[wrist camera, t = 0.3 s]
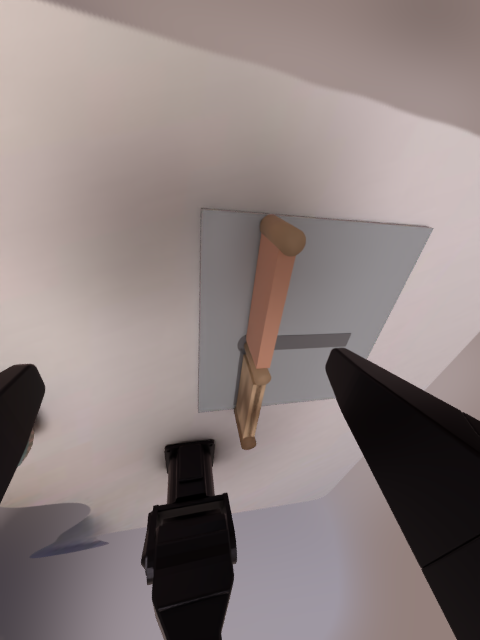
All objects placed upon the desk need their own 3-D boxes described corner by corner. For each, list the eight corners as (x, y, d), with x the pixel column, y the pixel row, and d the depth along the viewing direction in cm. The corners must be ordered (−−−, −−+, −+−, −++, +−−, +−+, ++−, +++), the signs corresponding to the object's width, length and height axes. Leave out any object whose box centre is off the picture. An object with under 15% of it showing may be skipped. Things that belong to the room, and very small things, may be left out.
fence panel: (257, 350, 24) (270, 384, 21) (242, 351, 24) (253, 386, 20) (282, 215, 17) (309, 229, 14) (261, 213, 17) (283, 227, 13)
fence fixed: (246, 412, 30) (255, 448, 26) (233, 414, 29) (240, 450, 26) (256, 353, 25) (270, 387, 21) (241, 354, 24) (252, 389, 20)
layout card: (344, 393, 33) (347, 397, 33) (198, 408, 29) (198, 413, 28) (427, 226, 21) (434, 228, 21) (201, 208, 17) (201, 209, 16)
